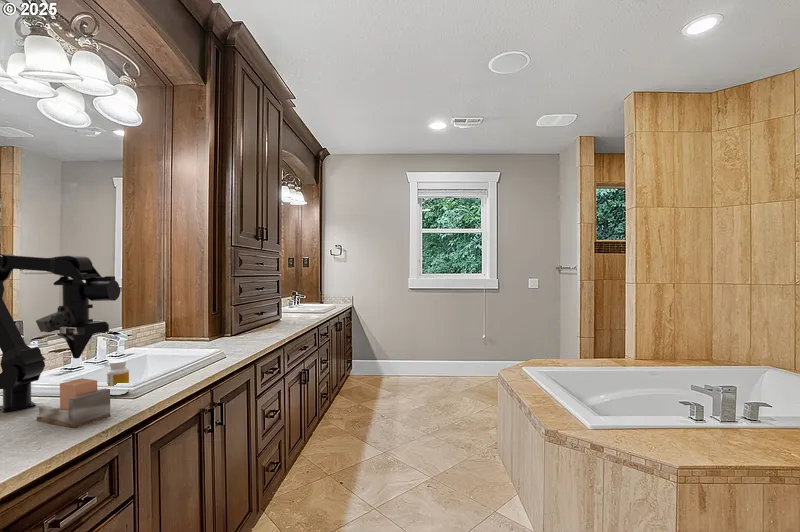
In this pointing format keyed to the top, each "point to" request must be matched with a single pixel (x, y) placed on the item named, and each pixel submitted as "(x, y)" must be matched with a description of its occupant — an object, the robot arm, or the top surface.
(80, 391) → the peach knobbed cube
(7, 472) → the top surface
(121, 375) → the supplement bottle
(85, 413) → the rail
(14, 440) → the top surface
